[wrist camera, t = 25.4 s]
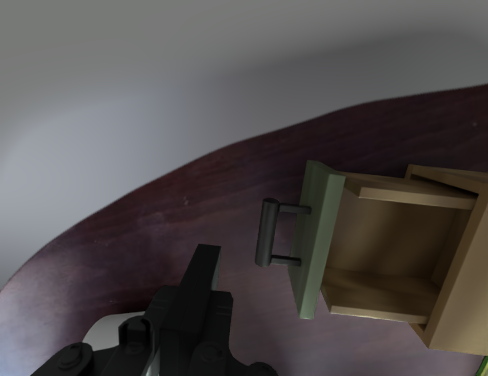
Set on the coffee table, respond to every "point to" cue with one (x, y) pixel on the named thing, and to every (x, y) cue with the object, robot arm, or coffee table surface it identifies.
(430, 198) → the drawer
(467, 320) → the cabinet
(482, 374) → the book
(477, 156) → the coffee table surface
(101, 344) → the mug
